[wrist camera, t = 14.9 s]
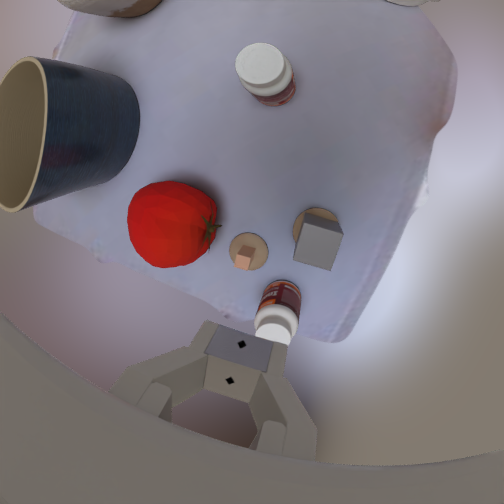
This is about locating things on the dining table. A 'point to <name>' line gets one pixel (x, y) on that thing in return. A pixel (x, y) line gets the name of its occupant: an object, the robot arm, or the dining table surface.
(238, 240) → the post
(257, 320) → the pill bottle
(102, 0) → the vase
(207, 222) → the tomato
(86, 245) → the dining table surface
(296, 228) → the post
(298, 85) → the dining table surface
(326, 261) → the charcoal tapered box
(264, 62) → the pill bottle
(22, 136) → the planter
